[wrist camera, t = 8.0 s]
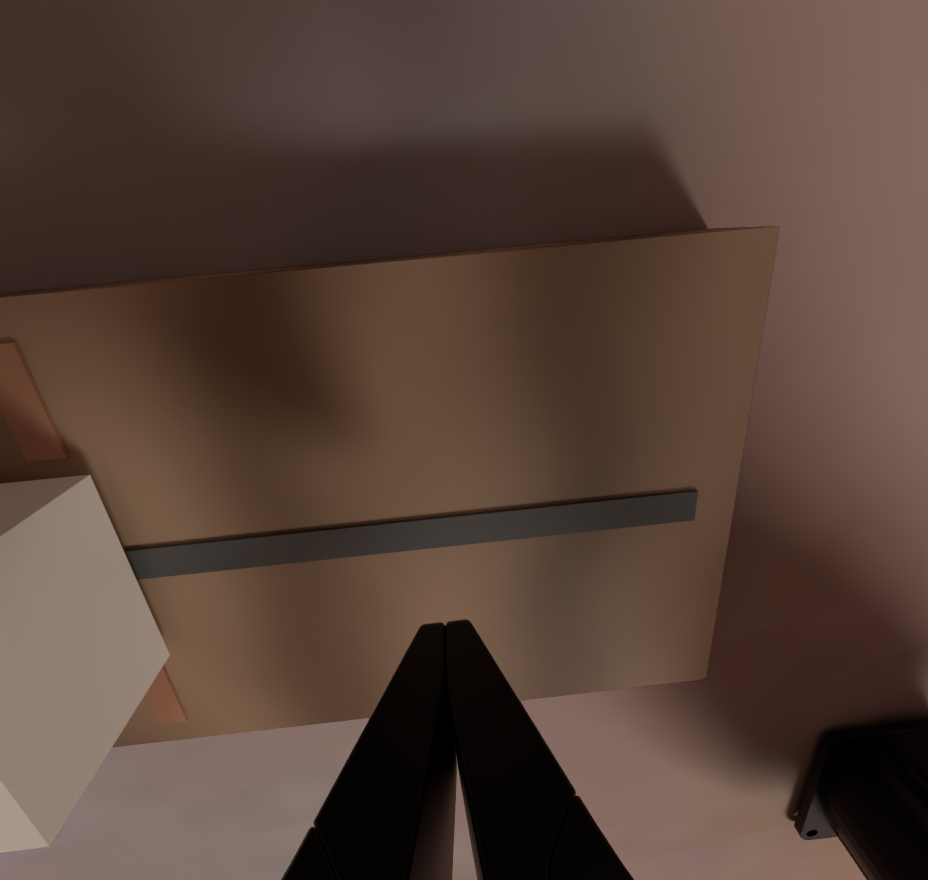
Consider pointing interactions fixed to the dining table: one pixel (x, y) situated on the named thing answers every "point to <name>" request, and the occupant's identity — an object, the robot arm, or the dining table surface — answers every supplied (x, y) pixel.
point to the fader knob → (64, 651)
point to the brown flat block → (404, 462)
